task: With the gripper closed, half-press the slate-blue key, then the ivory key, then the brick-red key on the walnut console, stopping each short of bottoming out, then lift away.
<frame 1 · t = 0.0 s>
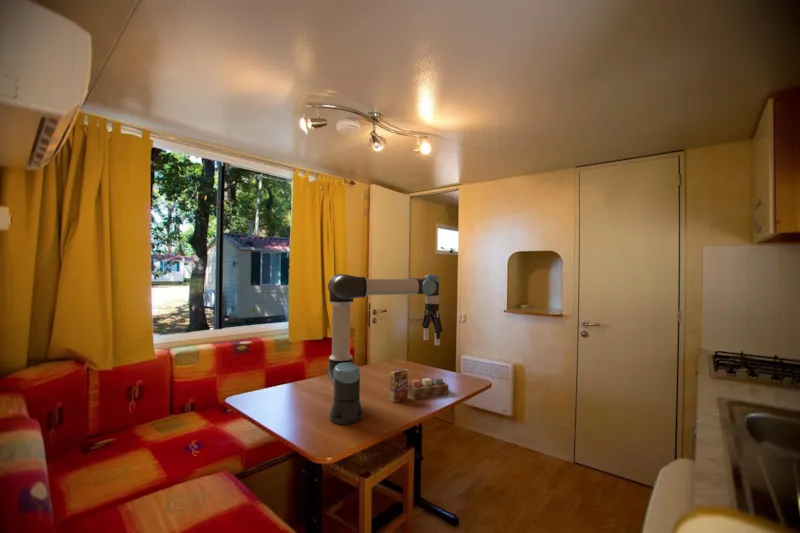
hand: (431, 342, 190), 28 cm above the table, fingers open, 13 cm apart
ivory key: (426, 383, 192), point 5 cm above the table, slide at 0.0 cm
brick key: (416, 384, 190), point 6 cm above the table, slide at 0.0 cm
console: (426, 393, 192), on the table
slate key: (437, 381, 195), point 5 cm above the table, slide at 0.0 cm
candy box: (398, 400, 182), on the table
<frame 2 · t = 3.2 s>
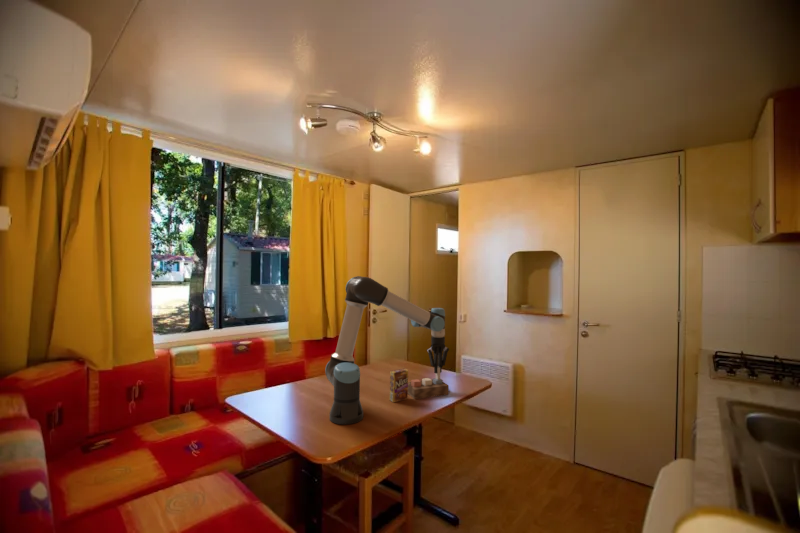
hand: (437, 378, 195), 7 cm above the table, fingers closed
slate key: (437, 382, 195), point 5 cm above the table, slide at 0.7 cm, touching gripper
everything else where it was.
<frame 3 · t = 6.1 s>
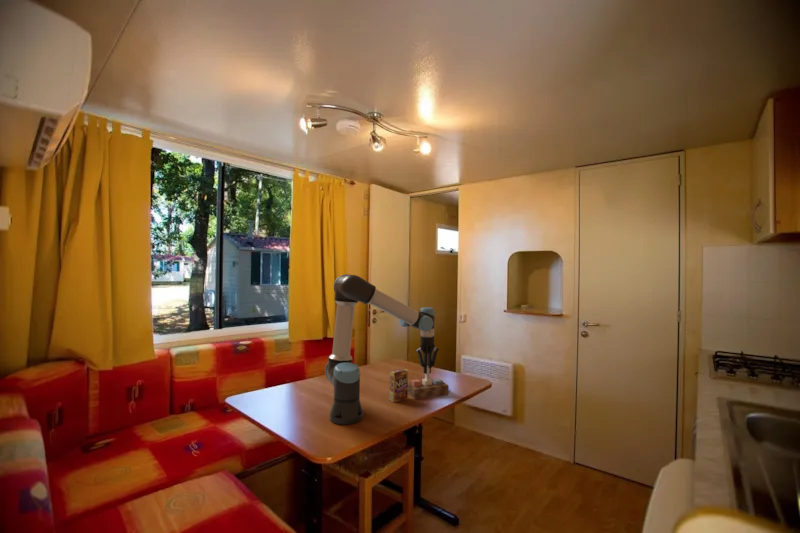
hand: (427, 379, 192), 8 cm above the table, fingers closed
ivory key: (426, 383, 192), point 5 cm above the table, slide at 0.2 cm, touching gripper
slate key: (437, 383, 195), point 5 cm above the table, slide at 1.0 cm
everything else where it was.
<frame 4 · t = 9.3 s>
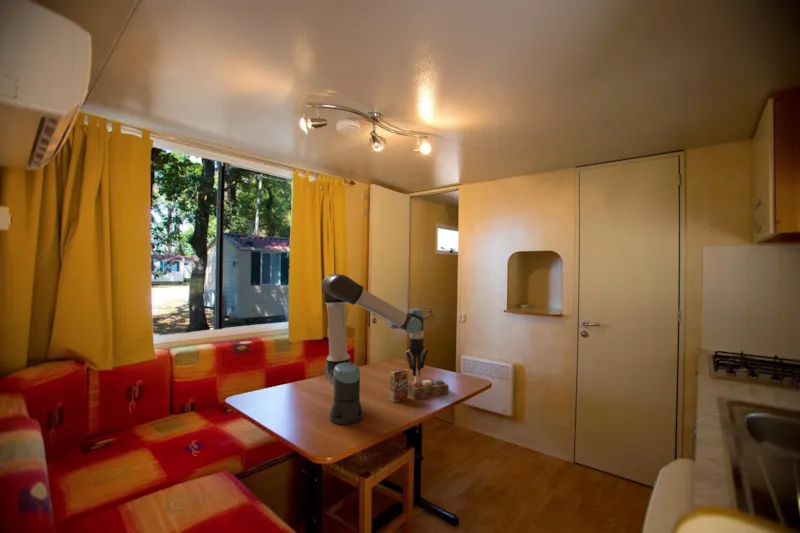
hand: (416, 381, 190), 7 cm above the table, fingers closed
ivory key: (426, 384, 192), point 5 cm above the table, slide at 1.0 cm
brick key: (416, 385, 190), point 5 cm above the table, slide at 0.8 cm, touching gripper
everything else where it was.
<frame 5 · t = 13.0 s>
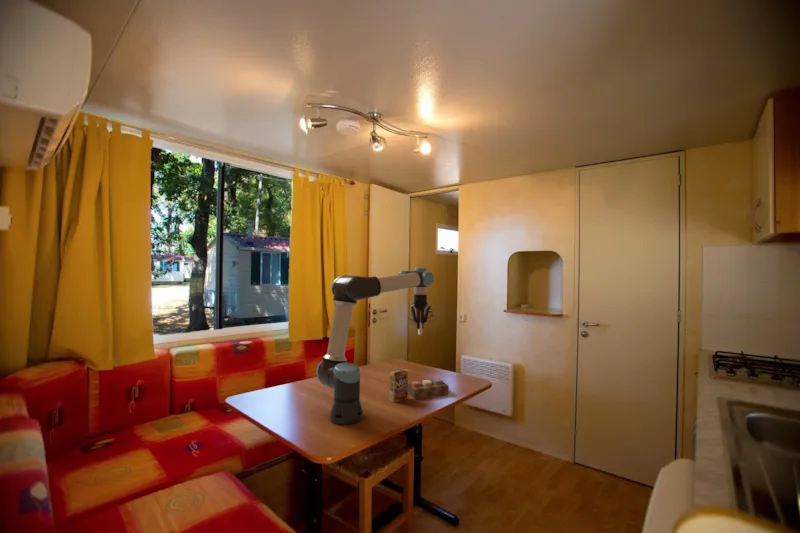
hand: (420, 334, 206), 29 cm above the table, fingers closed
brick key: (416, 386, 190), point 5 cm above the table, slide at 1.0 cm
everything else where it was.
at the end: slate key slide at 1.0 cm; ivory key slide at 1.0 cm; brick key slide at 1.0 cm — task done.
